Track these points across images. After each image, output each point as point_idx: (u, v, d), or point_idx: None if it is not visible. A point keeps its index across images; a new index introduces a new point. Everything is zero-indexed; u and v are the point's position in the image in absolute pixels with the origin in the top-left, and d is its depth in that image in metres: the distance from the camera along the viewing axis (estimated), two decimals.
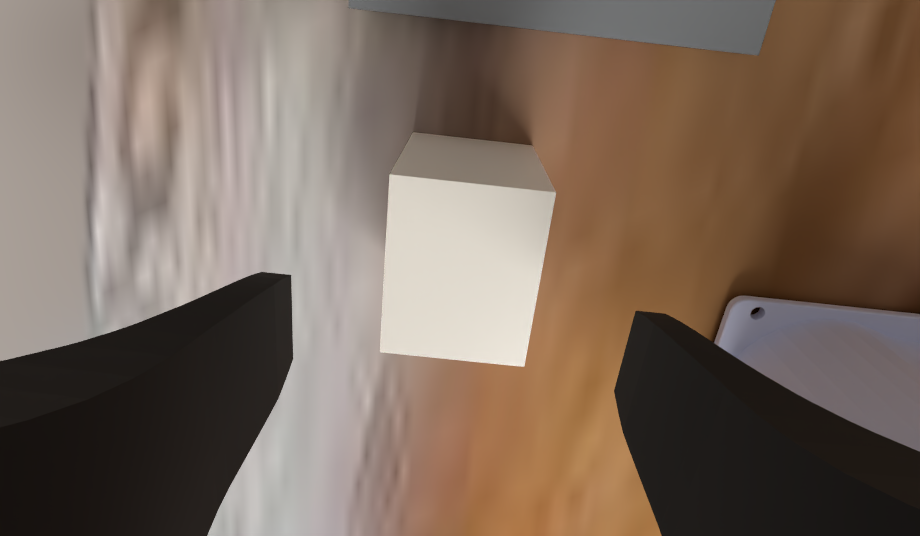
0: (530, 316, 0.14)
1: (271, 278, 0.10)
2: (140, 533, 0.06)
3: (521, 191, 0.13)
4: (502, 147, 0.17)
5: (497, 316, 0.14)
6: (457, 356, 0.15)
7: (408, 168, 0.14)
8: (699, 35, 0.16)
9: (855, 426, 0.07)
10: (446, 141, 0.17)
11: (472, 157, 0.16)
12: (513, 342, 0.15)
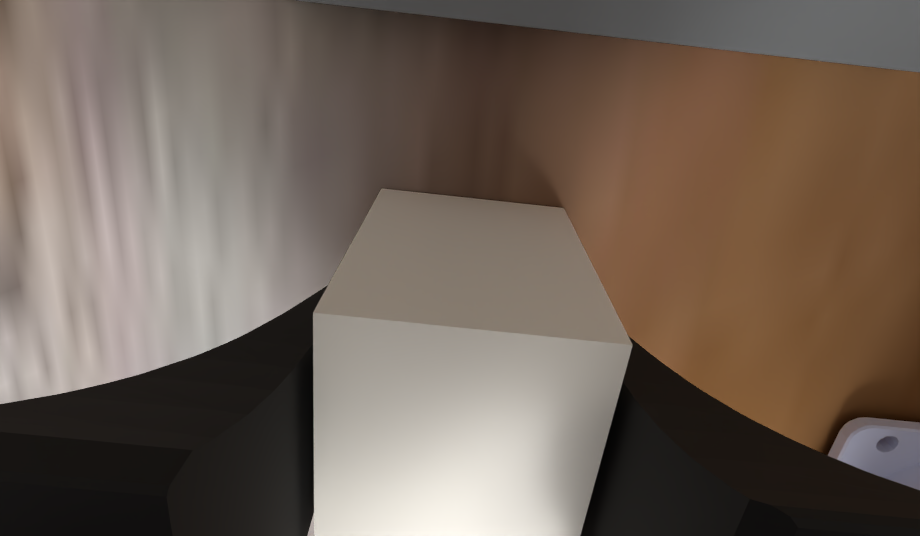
0: None
1: None
2: None
3: (567, 343, 0.07)
4: (519, 216, 0.11)
5: None
6: None
7: (355, 289, 0.07)
8: (846, 42, 0.10)
9: (736, 414, 0.07)
10: (431, 207, 0.11)
11: (472, 245, 0.09)
12: None
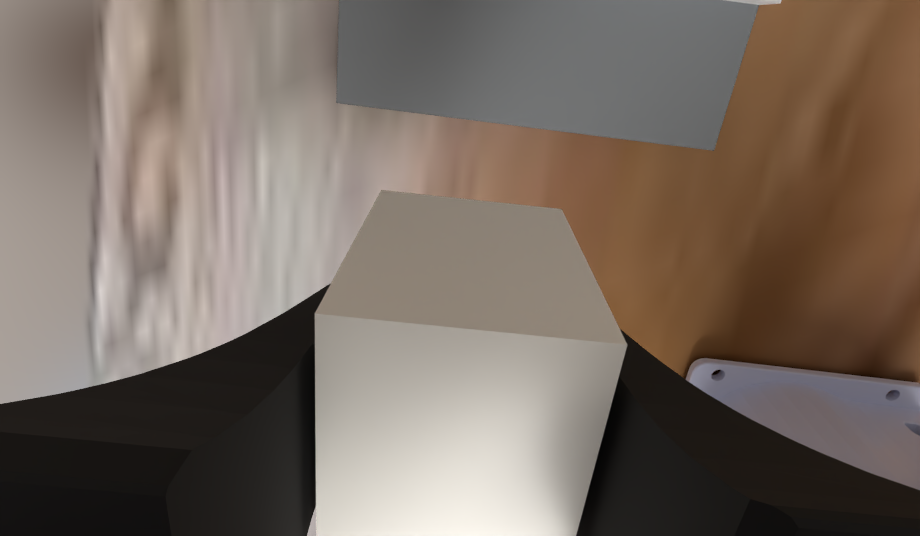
0: (571, 533, 0.08)
1: None
2: None
3: (563, 343, 0.07)
4: (517, 217, 0.11)
5: (515, 532, 0.08)
6: None
7: (356, 291, 0.08)
8: (659, 132, 0.17)
9: (736, 414, 0.07)
10: (431, 208, 0.11)
11: (471, 247, 0.10)
12: None
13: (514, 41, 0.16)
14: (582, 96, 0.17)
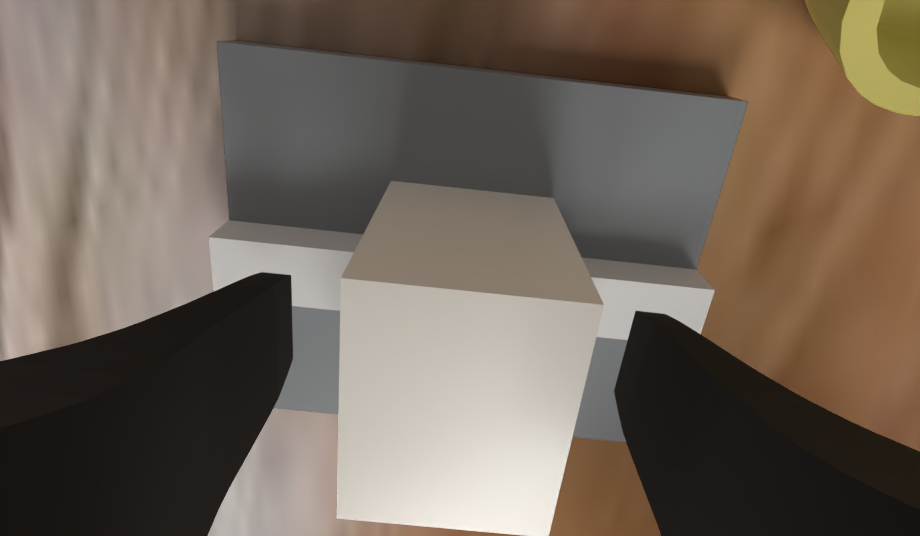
0: (559, 474, 0.10)
1: (271, 278, 0.10)
2: (140, 533, 0.06)
3: (550, 304, 0.08)
4: (513, 204, 0.13)
5: (510, 474, 0.10)
6: (450, 523, 0.10)
7: (374, 261, 0.09)
8: (584, 428, 0.16)
9: (854, 426, 0.07)
10: (436, 196, 0.13)
11: (472, 228, 0.11)
12: (533, 507, 0.10)
13: None
14: None
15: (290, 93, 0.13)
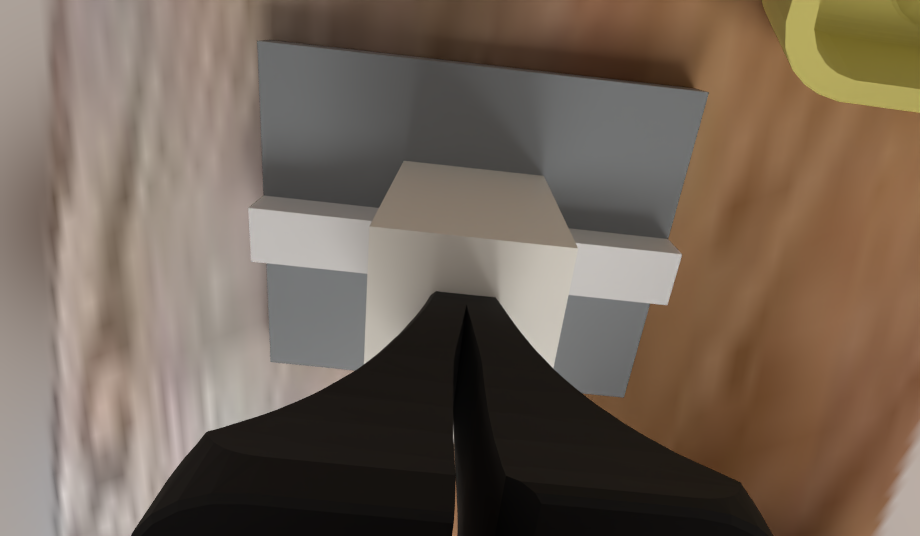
0: None
1: (456, 297, 0.10)
2: None
3: (535, 247, 0.10)
4: (508, 180, 0.15)
5: None
6: None
7: (394, 216, 0.11)
8: (572, 384, 0.18)
9: (582, 399, 0.07)
10: (442, 172, 0.15)
11: (473, 196, 0.13)
12: None
13: None
14: None
15: (318, 85, 0.15)
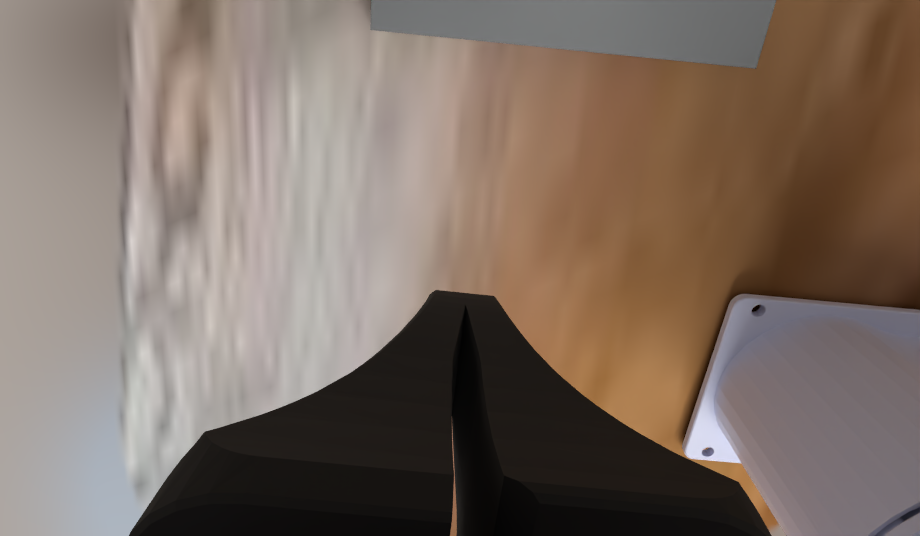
0: None
1: (455, 297, 0.10)
2: None
3: None
4: None
5: None
6: None
7: None
8: (700, 50, 0.17)
9: (581, 399, 0.07)
10: None
11: None
12: None
13: None
14: (621, 14, 0.16)
15: None
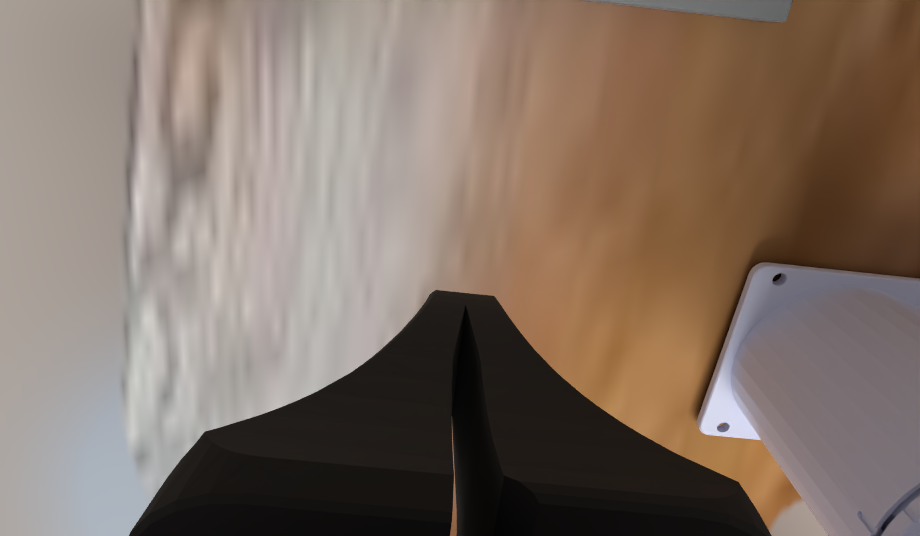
0: None
1: (455, 297, 0.10)
2: None
3: None
4: None
5: None
6: None
7: None
8: (729, 2, 0.16)
9: (581, 399, 0.07)
10: None
11: None
12: None
13: None
14: None
15: None
